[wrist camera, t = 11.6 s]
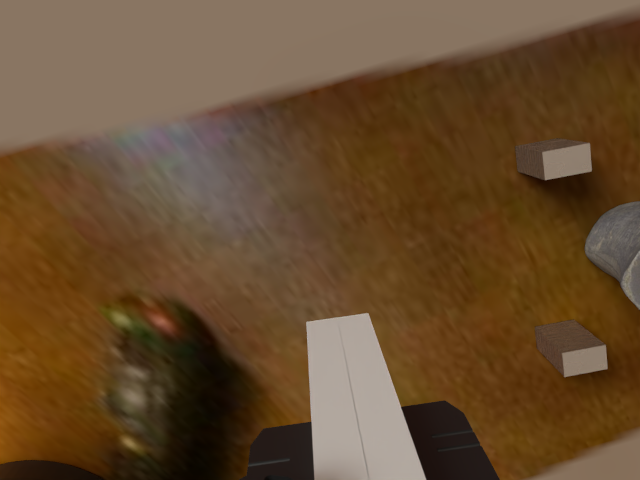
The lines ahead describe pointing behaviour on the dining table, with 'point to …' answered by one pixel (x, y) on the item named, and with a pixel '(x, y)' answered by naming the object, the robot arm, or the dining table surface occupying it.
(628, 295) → the pipe
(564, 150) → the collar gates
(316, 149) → the dining table surface
